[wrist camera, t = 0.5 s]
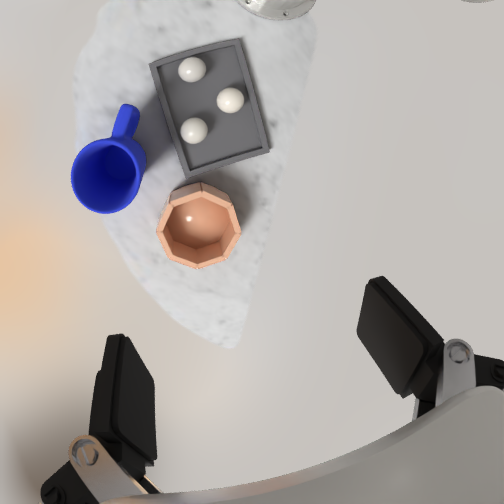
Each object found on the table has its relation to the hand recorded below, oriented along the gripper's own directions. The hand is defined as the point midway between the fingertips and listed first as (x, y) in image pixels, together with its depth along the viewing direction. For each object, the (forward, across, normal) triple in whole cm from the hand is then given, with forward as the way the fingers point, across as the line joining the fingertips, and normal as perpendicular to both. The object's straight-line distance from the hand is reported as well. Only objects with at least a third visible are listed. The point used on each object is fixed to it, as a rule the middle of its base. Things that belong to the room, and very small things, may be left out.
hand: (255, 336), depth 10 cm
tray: (+31, -2, -8) cm, 32 cm away
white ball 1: (+31, 0, -14) cm, 34 cm away
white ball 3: (+31, -5, -9) cm, 32 cm away
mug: (+31, +10, -5) cm, 33 cm away
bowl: (+31, +2, +7) cm, 32 cm away
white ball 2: (+31, 0, -6) cm, 31 cm away
